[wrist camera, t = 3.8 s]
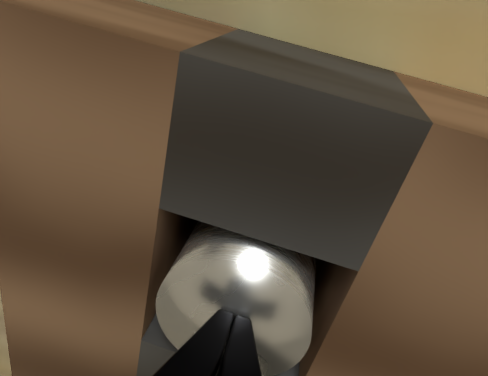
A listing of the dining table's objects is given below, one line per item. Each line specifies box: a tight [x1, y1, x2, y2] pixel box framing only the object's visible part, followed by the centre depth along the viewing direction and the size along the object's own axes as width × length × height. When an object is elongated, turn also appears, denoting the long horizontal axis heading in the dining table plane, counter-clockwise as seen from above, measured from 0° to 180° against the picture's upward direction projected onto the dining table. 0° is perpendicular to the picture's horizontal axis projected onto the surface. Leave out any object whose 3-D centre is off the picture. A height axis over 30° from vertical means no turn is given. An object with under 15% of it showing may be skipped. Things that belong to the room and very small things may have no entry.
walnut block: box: [0, 0, 488, 376], centre depth 15 cm, size 24×14×5 cm, turn 167°
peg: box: [156, 221, 316, 376], centre depth 12 cm, size 4×4×5 cm
